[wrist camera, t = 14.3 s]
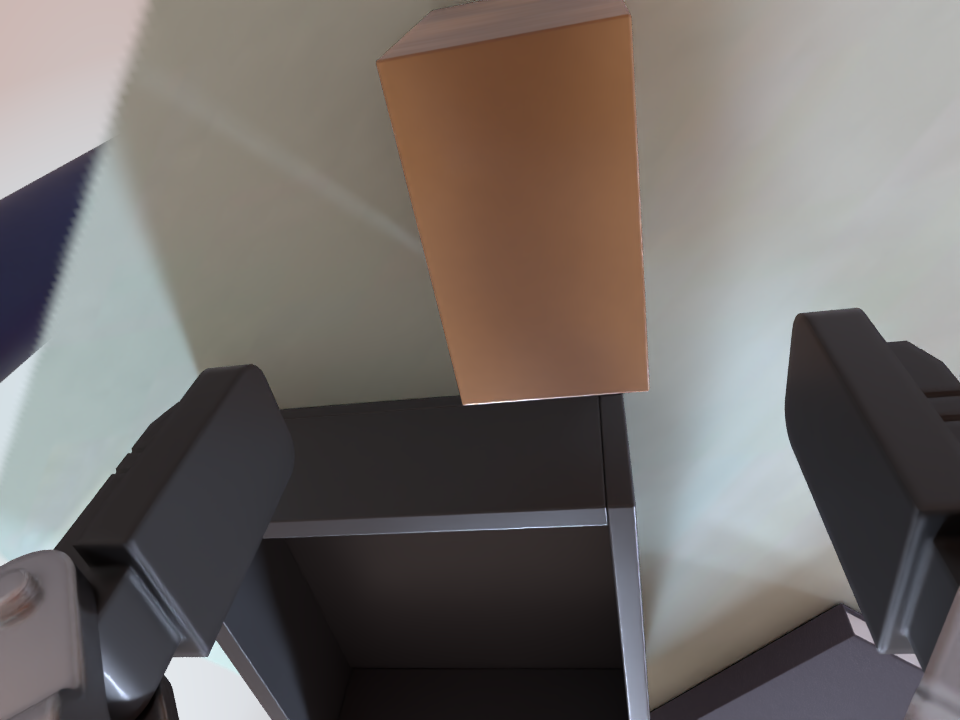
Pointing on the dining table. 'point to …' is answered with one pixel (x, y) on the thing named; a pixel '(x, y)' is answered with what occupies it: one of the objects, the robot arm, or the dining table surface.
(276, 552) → the bin
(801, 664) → the notebook
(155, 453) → the robot arm
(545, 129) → the package
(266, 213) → the dining table surface
